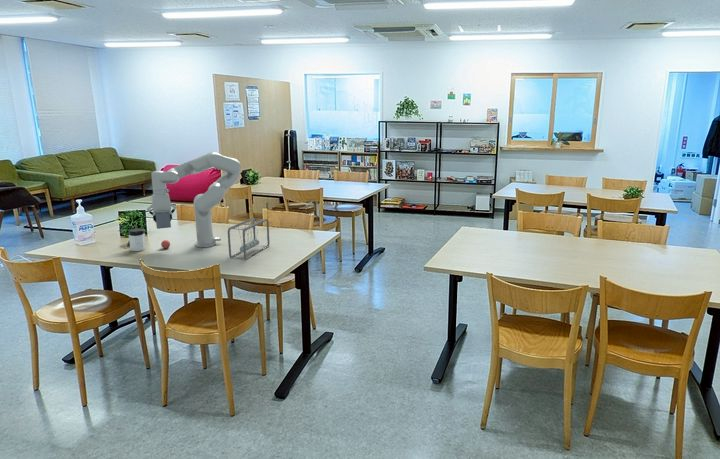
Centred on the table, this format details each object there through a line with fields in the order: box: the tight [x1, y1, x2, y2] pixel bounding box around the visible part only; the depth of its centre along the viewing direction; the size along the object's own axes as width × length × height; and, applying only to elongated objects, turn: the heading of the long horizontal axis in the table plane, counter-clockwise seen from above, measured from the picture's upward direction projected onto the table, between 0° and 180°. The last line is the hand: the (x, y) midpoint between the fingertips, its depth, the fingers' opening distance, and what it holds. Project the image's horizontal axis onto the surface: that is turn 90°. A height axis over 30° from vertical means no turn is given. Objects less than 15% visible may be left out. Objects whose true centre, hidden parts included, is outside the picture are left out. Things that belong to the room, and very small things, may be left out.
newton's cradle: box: [227, 217, 270, 260], centre depth 291 cm, size 30×10×18 cm, turn 163°
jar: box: [128, 227, 147, 252], centre depth 297 cm, size 9×8×12 cm
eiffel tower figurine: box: [119, 224, 131, 250], centre depth 306 cm, size 15×10×13 cm
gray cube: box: [155, 211, 172, 230], centre depth 296 cm, size 8×8×9 cm
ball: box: [161, 239, 171, 249], centre depth 300 cm, size 5×5×5 cm
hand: (163, 221), depth 296 cm, fingers closed on gray cube, 7 cm apart
